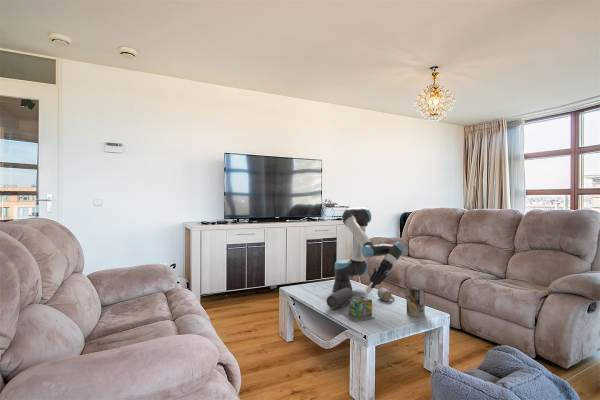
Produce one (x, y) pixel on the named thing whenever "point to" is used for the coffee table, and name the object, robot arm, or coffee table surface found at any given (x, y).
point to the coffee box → (415, 301)
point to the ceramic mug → (384, 294)
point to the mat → (353, 318)
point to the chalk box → (360, 307)
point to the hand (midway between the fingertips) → (367, 291)
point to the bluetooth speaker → (339, 298)
